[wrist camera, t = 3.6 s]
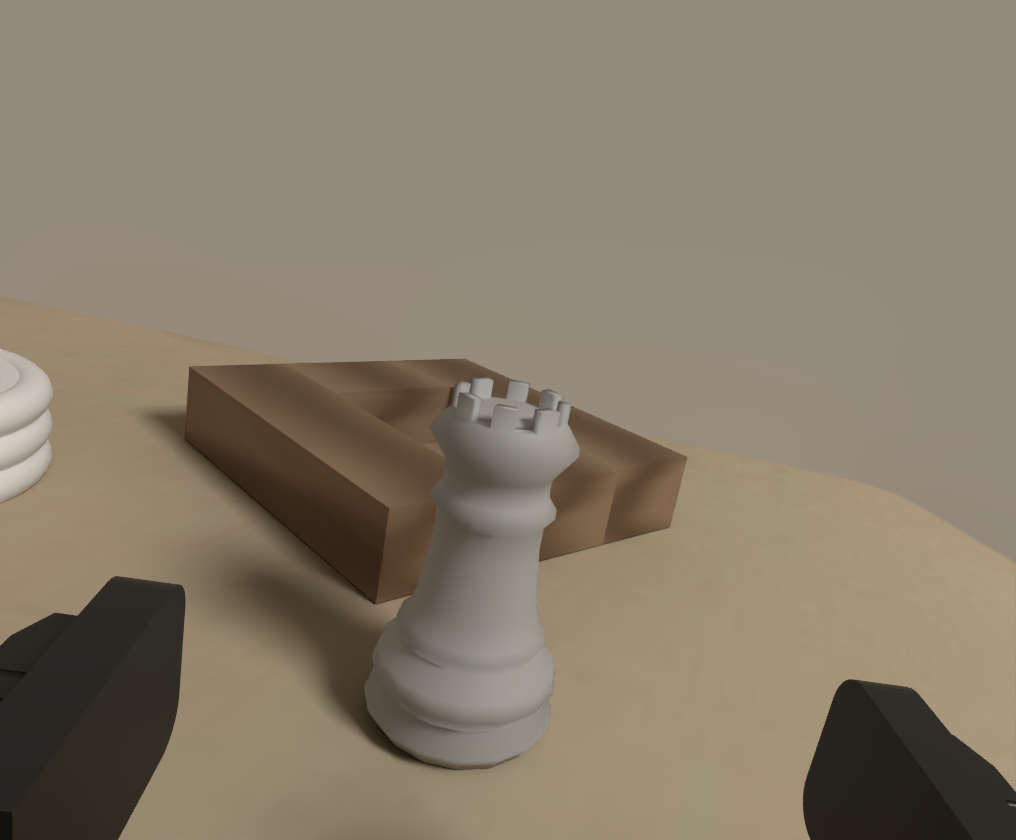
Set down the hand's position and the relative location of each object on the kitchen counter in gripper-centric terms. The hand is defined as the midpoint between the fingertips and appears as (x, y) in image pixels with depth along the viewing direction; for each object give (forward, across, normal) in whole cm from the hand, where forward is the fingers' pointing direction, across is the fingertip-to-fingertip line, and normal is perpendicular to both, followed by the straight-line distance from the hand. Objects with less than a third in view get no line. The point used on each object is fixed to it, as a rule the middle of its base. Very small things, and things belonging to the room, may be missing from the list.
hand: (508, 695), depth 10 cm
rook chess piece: (+8, 0, +7) cm, 11 cm away
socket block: (+23, +2, +6) cm, 24 cm away
